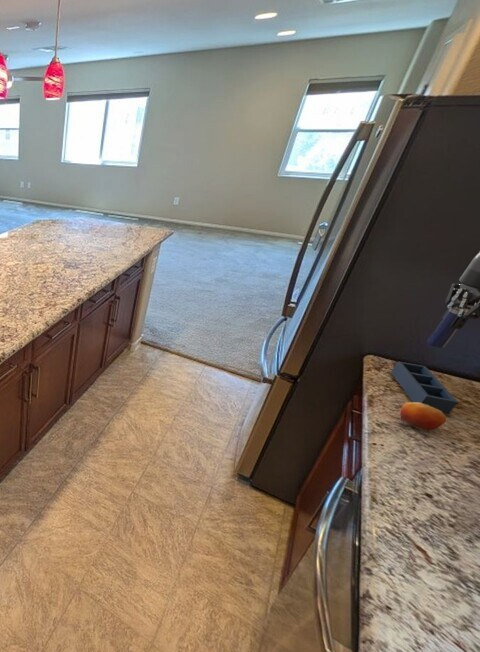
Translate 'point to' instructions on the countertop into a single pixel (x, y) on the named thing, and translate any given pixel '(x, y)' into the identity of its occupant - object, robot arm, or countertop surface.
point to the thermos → (444, 329)
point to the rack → (423, 386)
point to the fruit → (422, 416)
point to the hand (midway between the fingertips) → (450, 323)
